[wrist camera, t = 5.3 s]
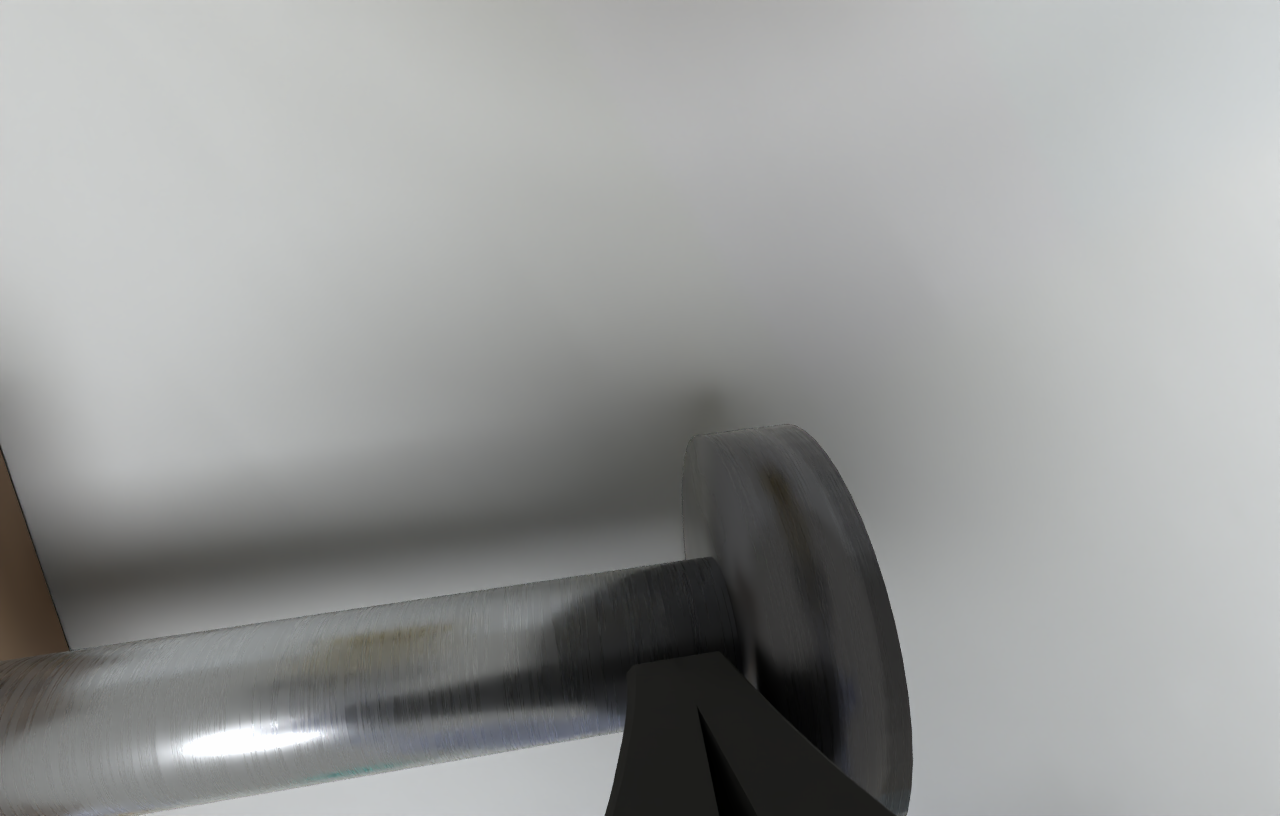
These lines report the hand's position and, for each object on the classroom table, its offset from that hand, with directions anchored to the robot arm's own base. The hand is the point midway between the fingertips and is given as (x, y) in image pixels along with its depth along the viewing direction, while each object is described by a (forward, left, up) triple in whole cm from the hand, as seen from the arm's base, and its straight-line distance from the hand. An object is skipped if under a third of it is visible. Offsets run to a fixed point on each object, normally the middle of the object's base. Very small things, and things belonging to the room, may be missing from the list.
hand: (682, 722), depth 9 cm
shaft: (+7, 0, -5) cm, 8 cm away
